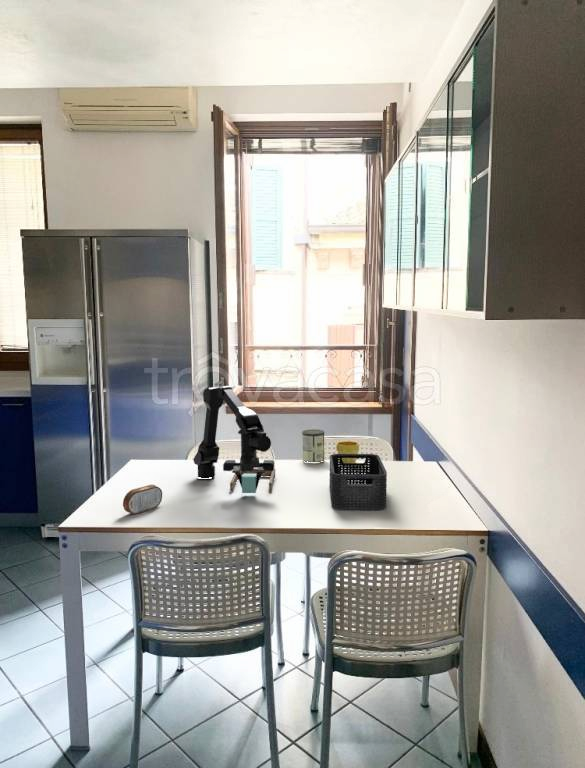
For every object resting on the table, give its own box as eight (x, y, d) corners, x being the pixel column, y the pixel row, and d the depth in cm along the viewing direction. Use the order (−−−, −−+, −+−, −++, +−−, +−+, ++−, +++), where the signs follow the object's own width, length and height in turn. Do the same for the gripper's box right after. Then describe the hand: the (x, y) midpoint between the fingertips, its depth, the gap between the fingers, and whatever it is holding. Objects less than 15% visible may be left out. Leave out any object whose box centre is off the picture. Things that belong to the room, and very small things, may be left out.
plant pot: (331, 464, 258) (331, 443, 257) (344, 460, 266) (344, 439, 265) (350, 468, 251) (350, 446, 250) (363, 463, 259) (363, 442, 258)
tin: (158, 504, 205) (158, 481, 204) (164, 506, 203) (163, 483, 202) (122, 515, 193) (121, 491, 192) (128, 517, 191) (127, 493, 190)
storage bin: (387, 511, 197) (388, 473, 195) (331, 511, 197) (332, 473, 196) (377, 486, 225) (378, 453, 223) (329, 486, 226) (329, 453, 224)
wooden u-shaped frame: (230, 491, 219) (230, 482, 218) (237, 476, 240) (237, 468, 239) (271, 492, 218) (271, 483, 218) (275, 476, 239) (275, 468, 239)
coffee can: (309, 457, 271) (309, 428, 270) (328, 460, 266) (328, 430, 264) (298, 462, 263) (298, 432, 261) (317, 465, 257) (317, 434, 256)
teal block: (242, 493, 210) (241, 477, 210) (243, 489, 215) (243, 473, 215) (255, 493, 210) (255, 477, 209) (256, 489, 215) (256, 473, 214)
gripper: (220, 452, 203) (221, 494, 205) (272, 452, 202) (272, 494, 204) (225, 445, 214) (225, 485, 216) (274, 445, 214) (274, 485, 215)
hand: (249, 487), depth 213 cm, fingers closed on teal block, 5 cm apart
